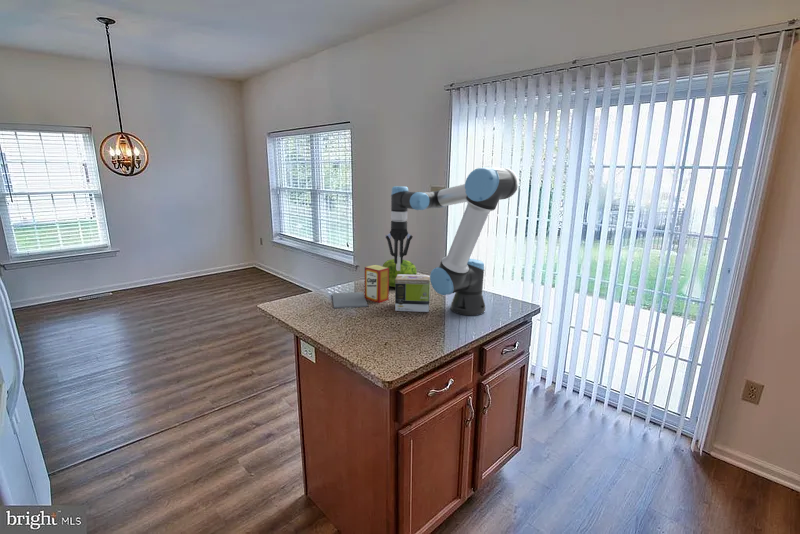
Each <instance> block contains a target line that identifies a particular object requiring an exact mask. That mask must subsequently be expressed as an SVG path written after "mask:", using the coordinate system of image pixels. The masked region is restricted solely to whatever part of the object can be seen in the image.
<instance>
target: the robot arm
mask: <svg viewBox="0 0 800 534" xmlns="http://www.w3.org/2000/svg"><path fill="white" fill-rule="evenodd" d="M518 188H519V179H518V176H517V174H516V173H515V172H514V171H513V170H512V169H510V168H507V167H490V166H482V167H477V168H476V169H473V170H472V171H471V172H470V173H469V174H468V175H467V177H466V179H465V183H463V184H460V185H455V186H451V187H447V188H443V189H439V190H434V191H409V188H408V187H407V186H406V185H405V186H404V185H403V186H401V185H396V186H395V185H394V186H392V188H391V195H390V197H391V205H390V207H391V208H390V209H391V211H390V219H391V222H390V230H389V233H388V234H385V239H386V240H387V245H388V248H389V249H388V250H389V252H390V256H392V257H394V258H393V259H394V263H395V264H396V270H397V271H400V263H403V260H404V258H403V257H404V256H407V255H408V252H409V251H408V250H409V248H410V244H411V240H412V239H413V235H412V234H410V233H409V231H408V211H409V210H415V211H423V210H426V209H441V208H444V207H447V206H453V205H457V204H463V203H467V205H466V207H465V210H464V213H463V215H462V218H461V220H460V222H459V225H458V228H457V229H456V230H457V231H456V232H455V236H454V237H453V241H452V243H451V245H450V248H449V251H448V252H447V255H446V256H444V257H442V259H441V261H440V263H439V266H438V267H437V266H436V267H435V268H433V269H432V270H431V272H430V274H429V275H430V285H431V286H432V287H431V288H432V289H433V290H434V291H435V292H436V293H437V294H439V295H441V296H447V295H451V294H454V295H453V298H452V301H451V303H450V310H451V312H453V313H456V314H459V315H462V314H463V315H464V316H478V315H477V314H480V315H482V314H481V313H483V312H484V311H485V312H486V304H485V300H484V299H485V298H484V295H483V287H484V276H485V275H484V274H485V263H484V262H483V261H482V260H479V259H474V258H471V256H472V254H473V251H474V248H475V246H476V244H477V242H478V240H479V237H480V235H481V232H482V231H483V229H484V225H485V222H486V221H487V219H488V216H489V214H490V212H493V211H495V210H496V208H497V206H498V204H499V202H500V200H507V199H509V198H511V197H513V195H515V193H516V192H517V191H518ZM391 237H392V238H391ZM391 239H393V241H394V243H393V245H394V248H393V245H392V240H391ZM405 239H406V242H405V244H404V240H405ZM398 249H399V255H398ZM485 312H484V313H485ZM484 313H483V314H484Z"/></svg>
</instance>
